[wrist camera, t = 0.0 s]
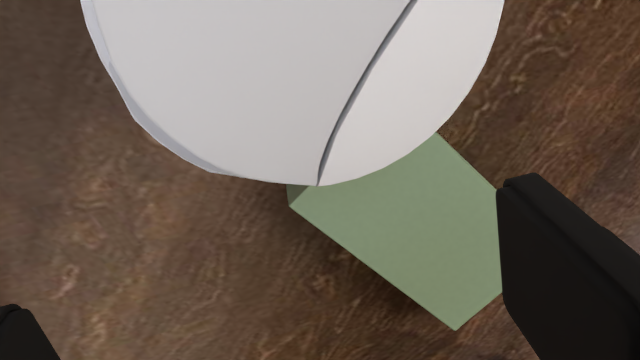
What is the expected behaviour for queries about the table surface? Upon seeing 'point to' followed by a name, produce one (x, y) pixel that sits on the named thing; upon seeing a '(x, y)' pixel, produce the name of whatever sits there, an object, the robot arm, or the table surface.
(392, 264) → the sage green foam block
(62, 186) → the table surface
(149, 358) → the table surface
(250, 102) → the coffee cup
